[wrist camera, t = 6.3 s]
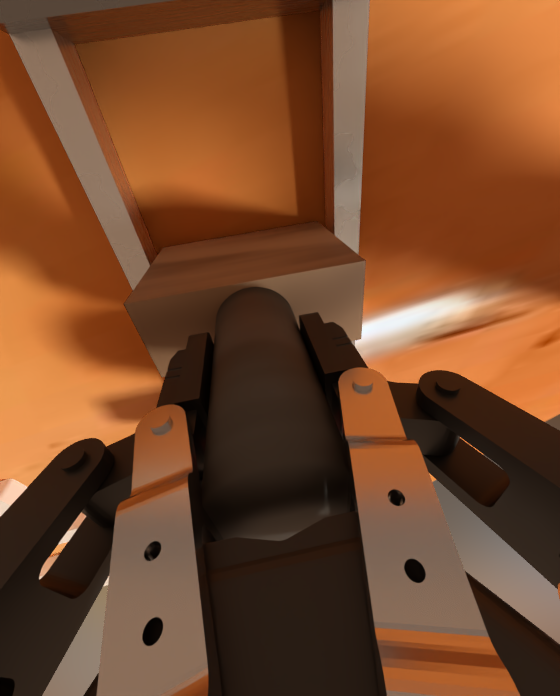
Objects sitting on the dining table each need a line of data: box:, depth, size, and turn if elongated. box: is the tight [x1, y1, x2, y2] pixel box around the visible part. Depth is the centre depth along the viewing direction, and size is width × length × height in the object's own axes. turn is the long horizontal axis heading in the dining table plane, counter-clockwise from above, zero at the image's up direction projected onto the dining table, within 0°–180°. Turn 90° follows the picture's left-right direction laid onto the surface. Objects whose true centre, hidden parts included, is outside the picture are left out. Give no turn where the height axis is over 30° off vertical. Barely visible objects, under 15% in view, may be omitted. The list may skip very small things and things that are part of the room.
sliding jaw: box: [124, 221, 366, 541], centre depth 13 cm, size 5×10×16 cm, turn 97°
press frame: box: [0, 0, 370, 346], centre depth 17 cm, size 28×15×8 cm, turn 7°
